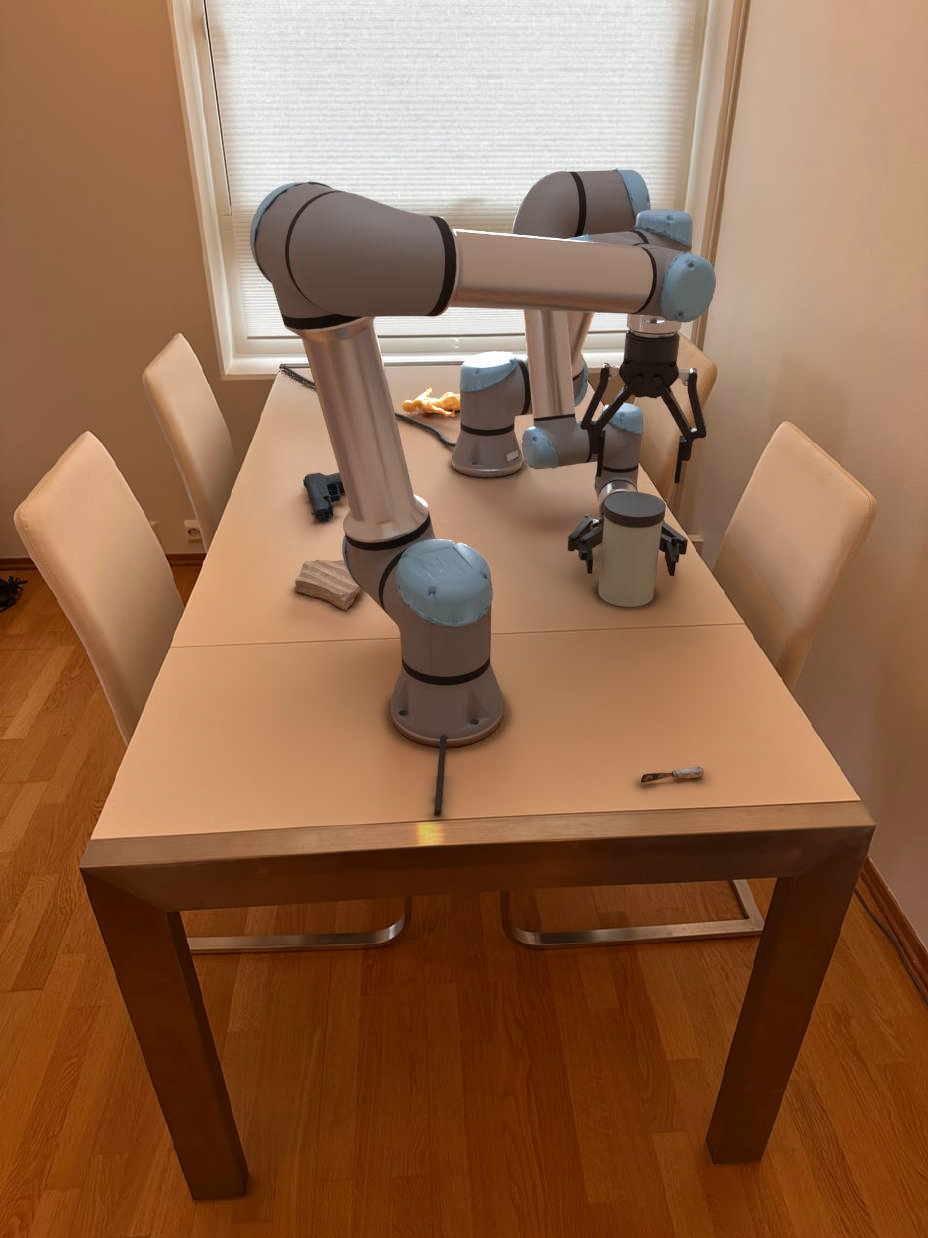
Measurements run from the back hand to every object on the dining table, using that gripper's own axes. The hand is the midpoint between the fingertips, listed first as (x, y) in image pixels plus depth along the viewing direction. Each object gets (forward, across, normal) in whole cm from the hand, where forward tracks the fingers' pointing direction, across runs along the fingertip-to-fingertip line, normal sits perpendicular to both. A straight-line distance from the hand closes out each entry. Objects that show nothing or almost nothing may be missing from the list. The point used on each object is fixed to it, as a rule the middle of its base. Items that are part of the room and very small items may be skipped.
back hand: (631, 567), depth 141 cm
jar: (-4, 0, -7) cm, 8 cm away
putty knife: (+42, -2, -7) cm, 43 cm away
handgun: (-37, +55, -7) cm, 66 cm away
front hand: (-4, 0, +14) cm, 14 cm away
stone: (-1, +49, -7) cm, 49 cm away
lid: (-4, 0, +9) cm, 10 cm away
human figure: (-93, +36, -7) cm, 100 cm away
